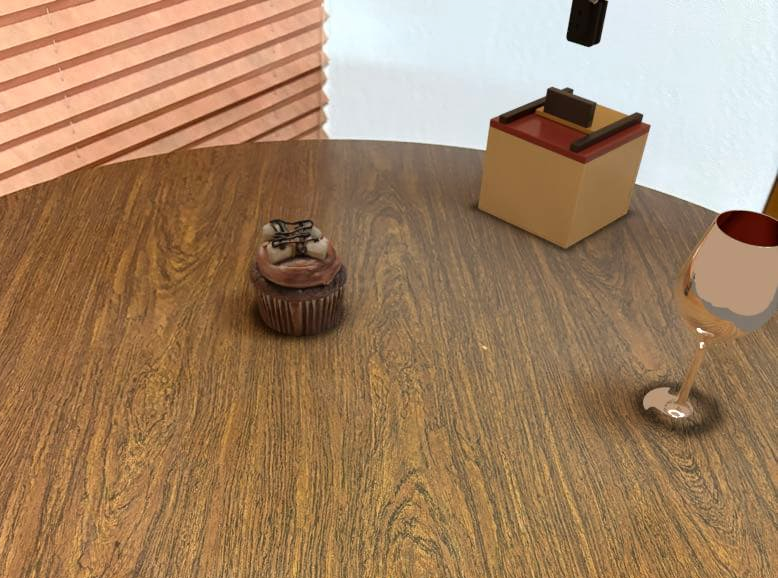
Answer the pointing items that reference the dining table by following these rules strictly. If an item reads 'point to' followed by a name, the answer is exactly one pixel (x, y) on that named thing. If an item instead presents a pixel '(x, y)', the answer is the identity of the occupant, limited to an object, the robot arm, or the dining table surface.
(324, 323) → the cupcake
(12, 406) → the dining table surface
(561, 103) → the slider
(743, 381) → the dining table surface
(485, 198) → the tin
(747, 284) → the wineglass
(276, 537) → the dining table surface
